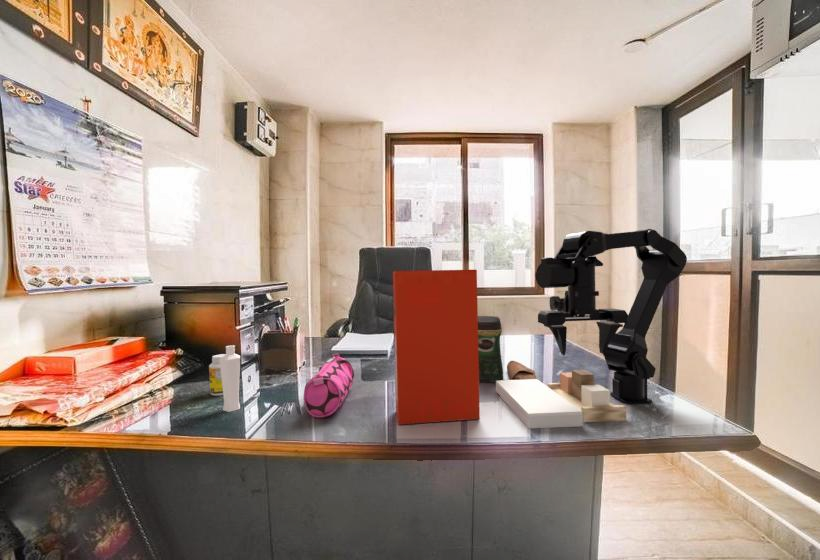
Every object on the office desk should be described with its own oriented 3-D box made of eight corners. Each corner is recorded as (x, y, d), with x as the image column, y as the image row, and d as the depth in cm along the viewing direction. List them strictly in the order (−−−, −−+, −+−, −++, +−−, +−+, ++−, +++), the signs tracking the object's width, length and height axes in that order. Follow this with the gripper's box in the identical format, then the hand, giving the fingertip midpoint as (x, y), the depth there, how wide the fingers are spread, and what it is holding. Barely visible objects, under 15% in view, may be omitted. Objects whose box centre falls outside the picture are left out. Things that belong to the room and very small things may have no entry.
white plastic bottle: (238, 403, 88) (237, 343, 87) (245, 408, 85) (243, 345, 84) (218, 408, 84) (216, 346, 84) (224, 413, 81) (222, 348, 81)
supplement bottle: (211, 391, 98) (210, 354, 97) (233, 388, 100) (232, 352, 100) (208, 397, 92) (207, 358, 92) (232, 394, 95) (231, 356, 94)
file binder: (395, 410, 81) (392, 271, 80) (468, 406, 83) (466, 270, 82) (398, 425, 73) (395, 271, 72) (479, 420, 75) (477, 269, 74)
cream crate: (598, 402, 79) (598, 384, 79) (610, 409, 75) (609, 390, 75) (581, 403, 79) (581, 385, 79) (591, 409, 75) (591, 391, 75)
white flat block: (537, 390, 93) (537, 379, 93) (582, 426, 71) (582, 411, 71) (496, 391, 92) (495, 380, 92) (528, 428, 70) (528, 413, 70)
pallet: (582, 393, 91) (581, 362, 90) (626, 420, 74) (625, 382, 73) (547, 394, 90) (547, 363, 90) (584, 422, 73) (583, 384, 73)
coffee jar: (502, 375, 107) (501, 314, 106) (503, 383, 99) (502, 317, 99) (470, 374, 109) (469, 314, 108) (468, 382, 101) (467, 317, 101)
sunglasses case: (543, 389, 94) (530, 367, 94) (520, 401, 95) (506, 379, 95) (534, 371, 111) (522, 352, 112) (514, 381, 112) (503, 363, 113)
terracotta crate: (575, 388, 89) (575, 372, 89) (584, 393, 85) (584, 376, 85) (560, 388, 89) (559, 372, 89) (568, 393, 85) (567, 377, 85)
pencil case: (319, 389, 98) (318, 353, 98) (354, 388, 99) (354, 352, 98) (299, 421, 77) (298, 375, 77) (344, 419, 77) (343, 373, 77)
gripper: (600, 284, 90) (601, 345, 90) (528, 286, 89) (529, 348, 89) (629, 285, 79) (630, 355, 79) (547, 288, 78) (549, 358, 78)
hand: (582, 354), depth 82 cm, fingers open, 9 cm apart
